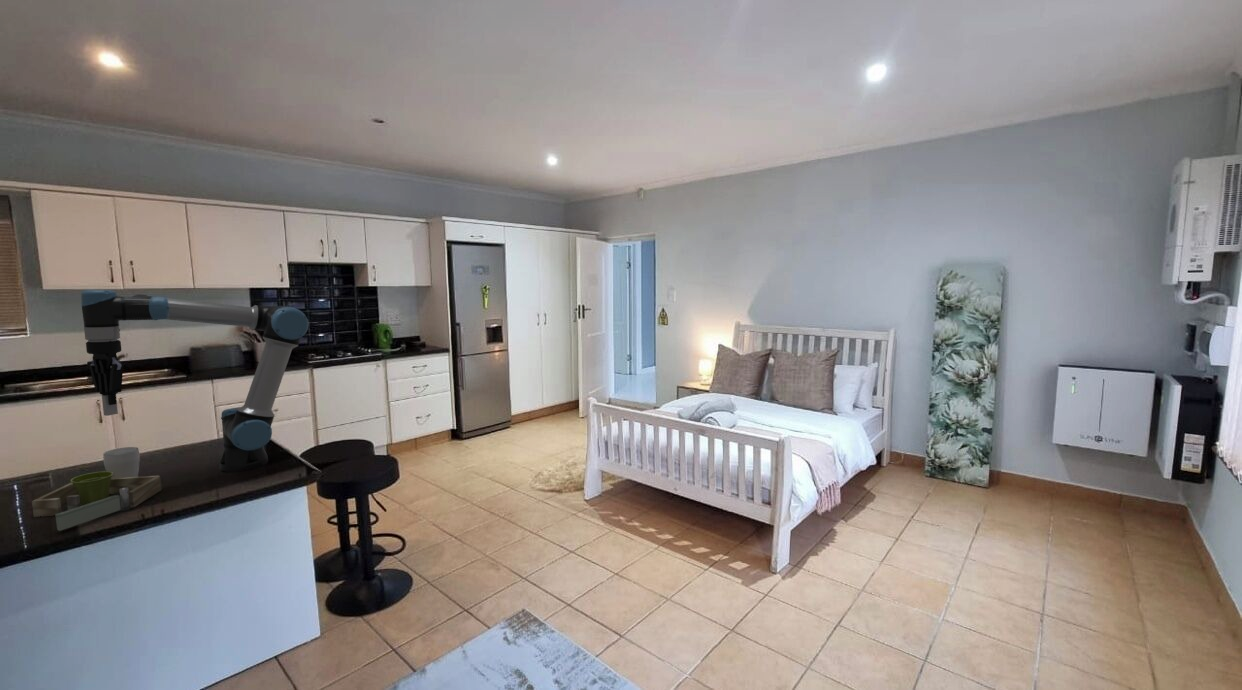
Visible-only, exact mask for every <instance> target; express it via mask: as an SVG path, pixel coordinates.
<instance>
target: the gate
mask: <svg viewBox="0 0 1242 690" xmlns="http://www.w3.org/2000/svg"><path fill="white" fill-rule="evenodd" d="M118 511H121V502H120V494H114V495H111V496H108V498H105V499H102V500H98V501H95V502H92V503H89V504H86V505H83V506H82V505H80V507H77V508H74V509H70V510H68V509H67V510H65V511H62V512H61V513H58V514H55V516H54V517H55V522H56V528H57V529H56V530H57V531H59V532H60V531H63V530H67V529H69V528H72V527H75V526H77V525H78V526H79V525H81V524H84V523H87V522H89V521H92V520H95V519H97V518H101V517H104V516H107V515H110V514H112V513H116V512H118Z"/></svg>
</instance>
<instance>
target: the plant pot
mask: <svg viewBox="0 0 1242 690" xmlns="http://www.w3.org/2000/svg"><path fill="white" fill-rule="evenodd" d="M112 475H113V472H109V471H106V470H105V471H104V470H103V471H94V472H90V473H85V474H81V475H77V476H74V477H73V478H70V482H69V483H73V485H74V486H75V488H76V491H77V494H78V495H79V497H80V506H83V505H86V504H89V503H92V502H95V501H98V500H102V499H105V498H108V497H110V496H109V495H110V494H109V486H110V480H111V477H112Z"/></svg>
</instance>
